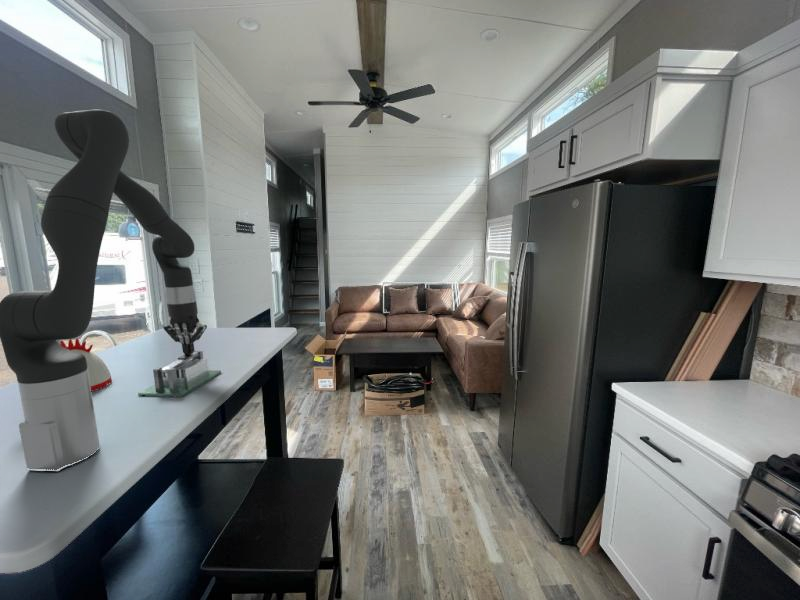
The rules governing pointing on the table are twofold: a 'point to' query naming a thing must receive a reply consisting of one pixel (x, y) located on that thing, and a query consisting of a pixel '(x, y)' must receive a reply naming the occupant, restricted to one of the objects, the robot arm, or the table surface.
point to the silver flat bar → (178, 362)
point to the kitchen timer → (91, 364)
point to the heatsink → (181, 378)
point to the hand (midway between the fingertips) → (189, 354)
